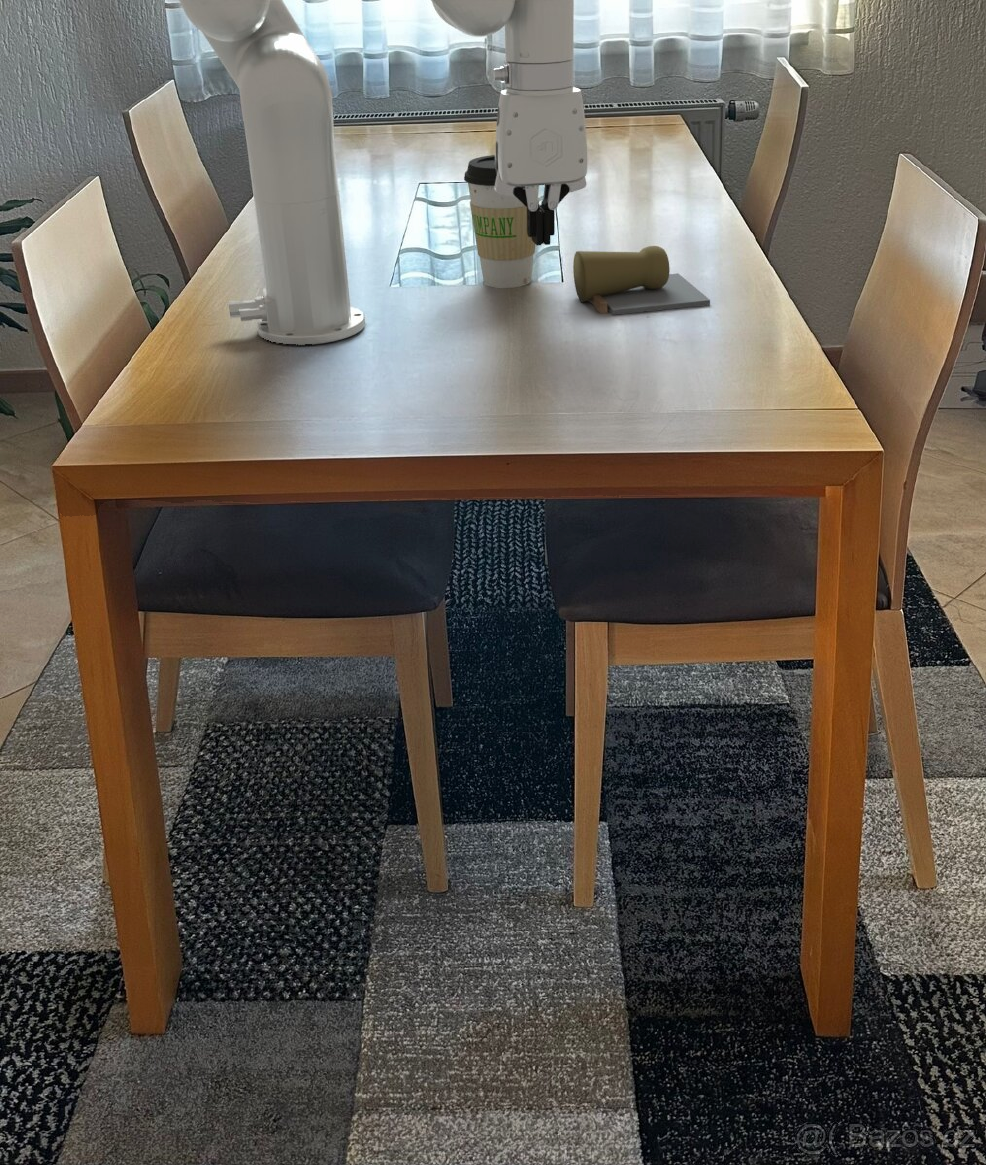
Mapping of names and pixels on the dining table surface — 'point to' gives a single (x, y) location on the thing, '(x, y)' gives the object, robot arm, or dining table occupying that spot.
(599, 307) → the walnut strip
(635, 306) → the charcoal mat
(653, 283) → the cork
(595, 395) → the dining table surface
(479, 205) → the coffee cup
